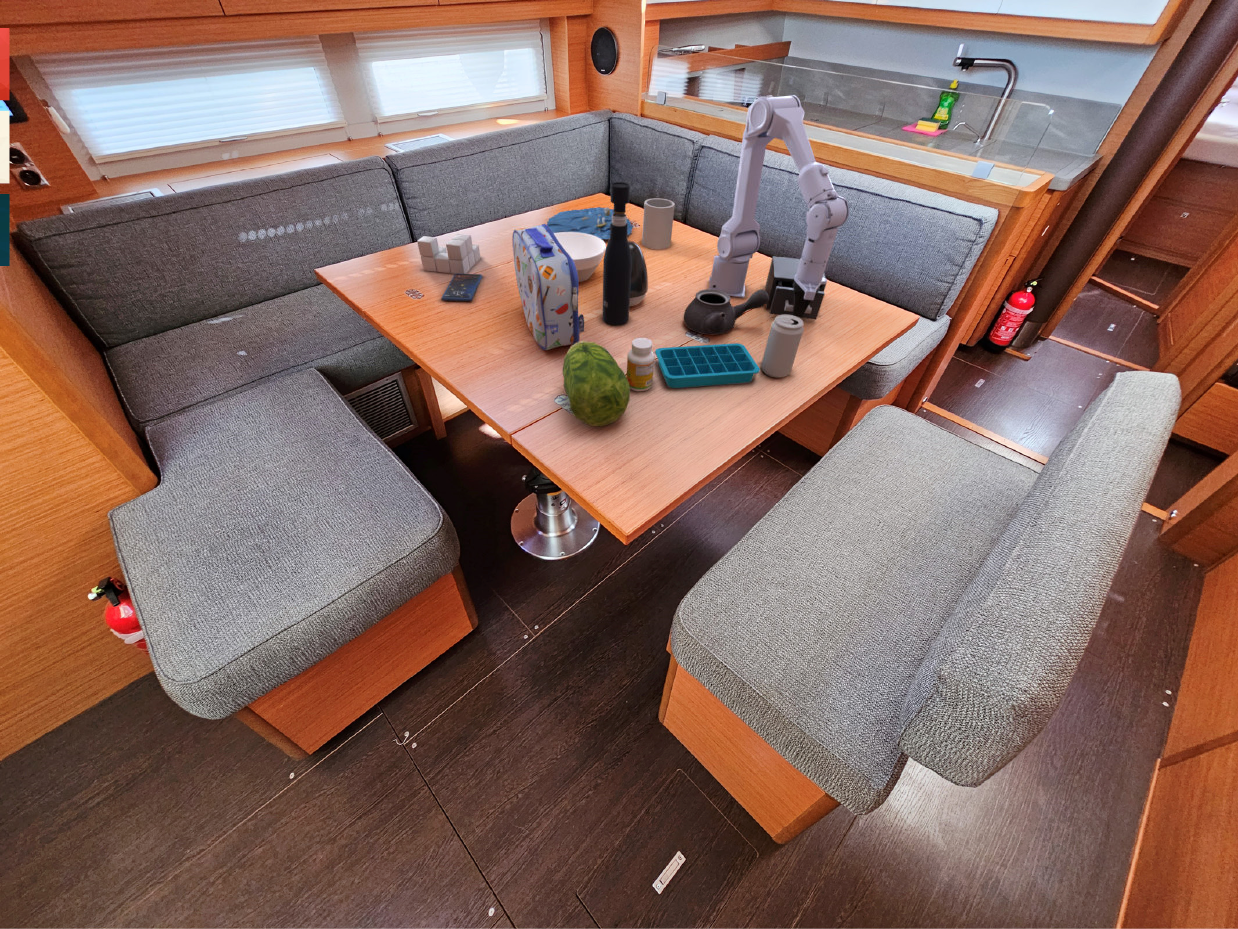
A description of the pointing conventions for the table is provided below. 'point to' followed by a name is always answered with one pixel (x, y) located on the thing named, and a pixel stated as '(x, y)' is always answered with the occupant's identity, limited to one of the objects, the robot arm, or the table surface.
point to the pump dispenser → (637, 275)
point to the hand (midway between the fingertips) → (797, 315)
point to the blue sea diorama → (585, 222)
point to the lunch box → (547, 287)
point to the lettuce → (594, 384)
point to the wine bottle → (617, 261)
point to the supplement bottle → (640, 365)
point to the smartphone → (462, 287)
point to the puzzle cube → (449, 254)
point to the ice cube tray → (706, 365)
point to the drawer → (792, 301)
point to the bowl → (583, 251)
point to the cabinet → (782, 274)
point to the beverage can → (782, 345)
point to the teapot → (718, 311)
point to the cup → (657, 223)
